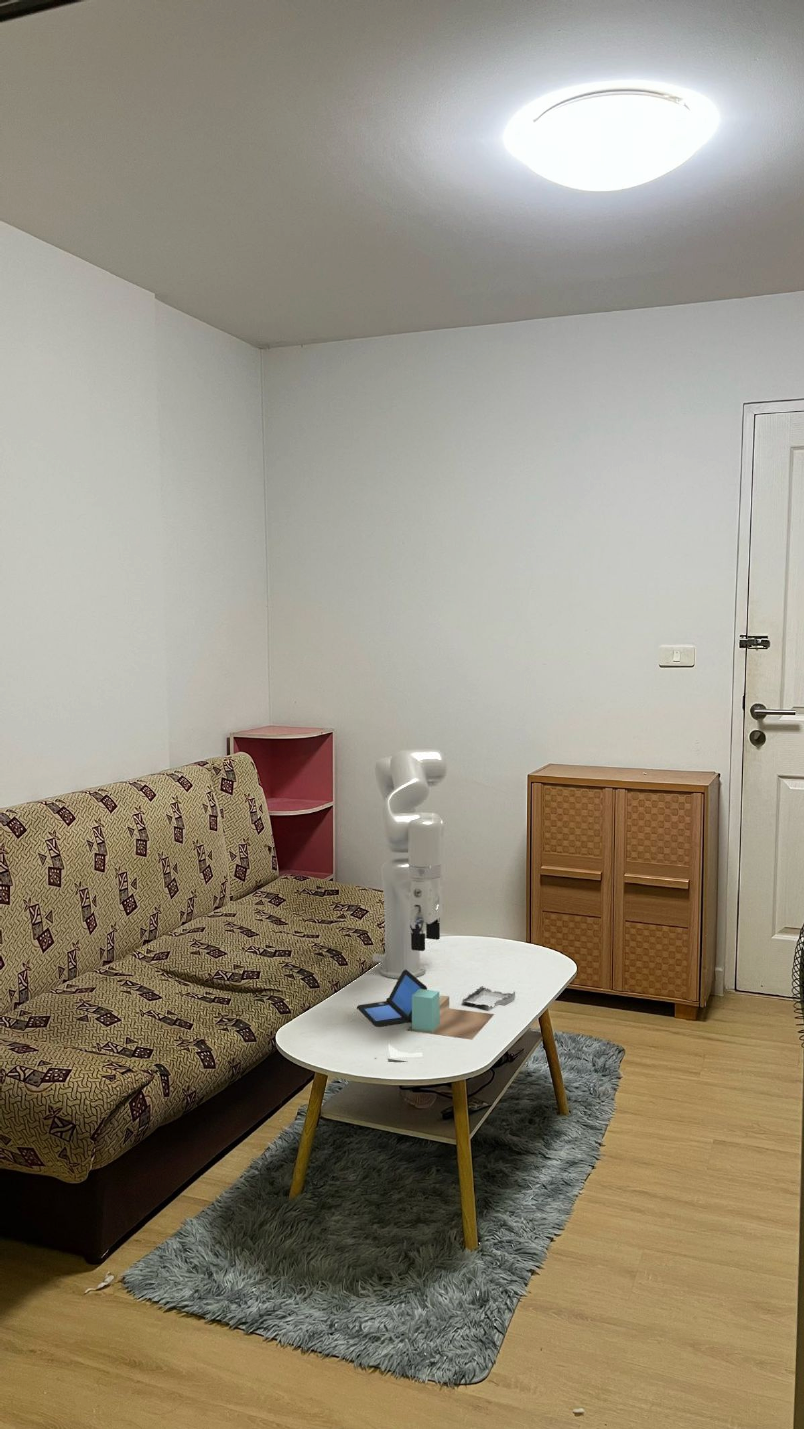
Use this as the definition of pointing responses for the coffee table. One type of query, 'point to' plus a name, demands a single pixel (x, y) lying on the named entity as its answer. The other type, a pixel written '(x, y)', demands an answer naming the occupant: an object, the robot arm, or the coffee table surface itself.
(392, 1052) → the external hard drive
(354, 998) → the coffee table surface
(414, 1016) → the teal block
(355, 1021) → the coffee table surface
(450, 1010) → the walnut board
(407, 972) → the handheld game console
